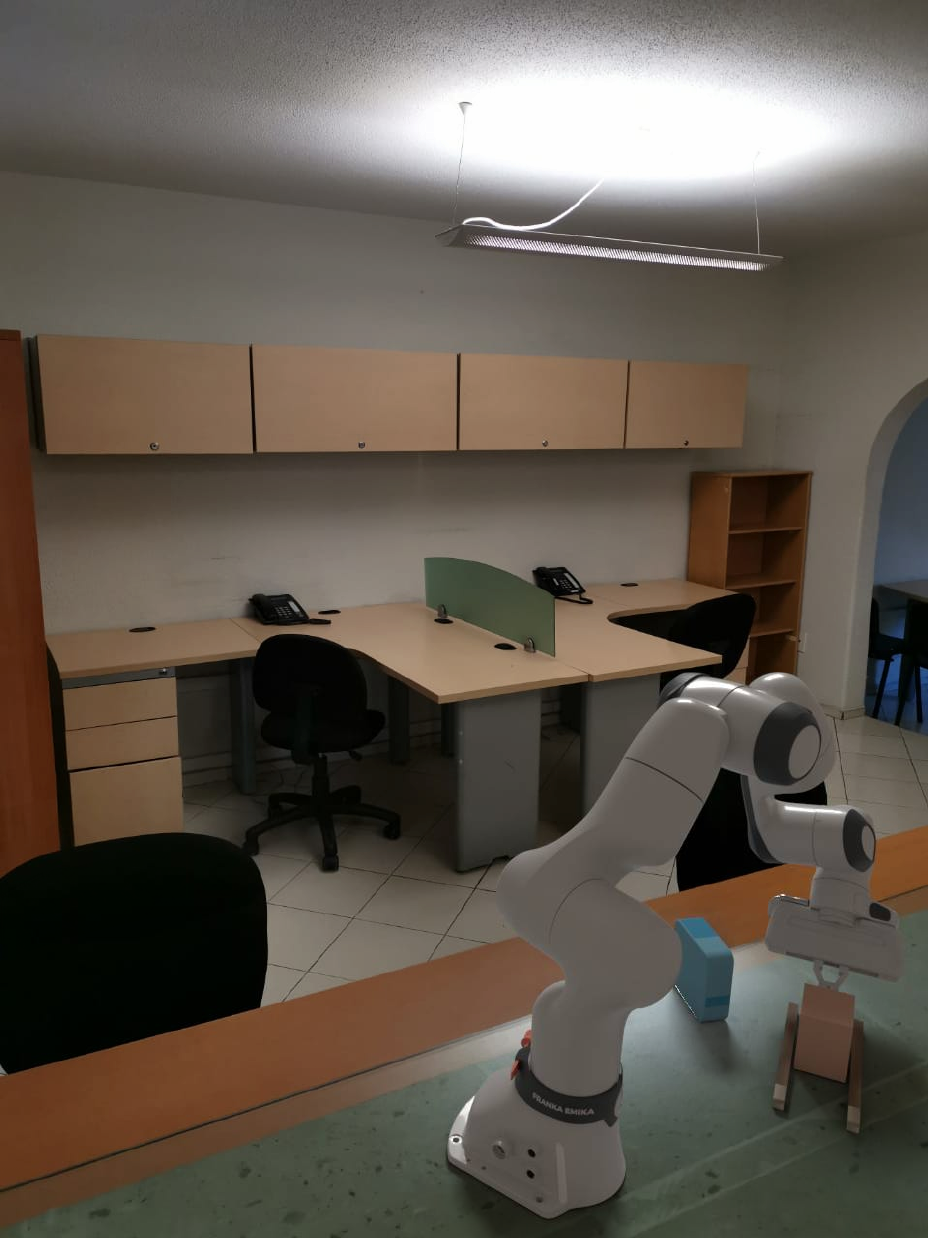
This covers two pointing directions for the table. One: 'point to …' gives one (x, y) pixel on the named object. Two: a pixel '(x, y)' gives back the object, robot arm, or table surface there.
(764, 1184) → the table surface
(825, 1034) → the block
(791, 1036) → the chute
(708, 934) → the data package
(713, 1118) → the table surface
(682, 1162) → the table surface
